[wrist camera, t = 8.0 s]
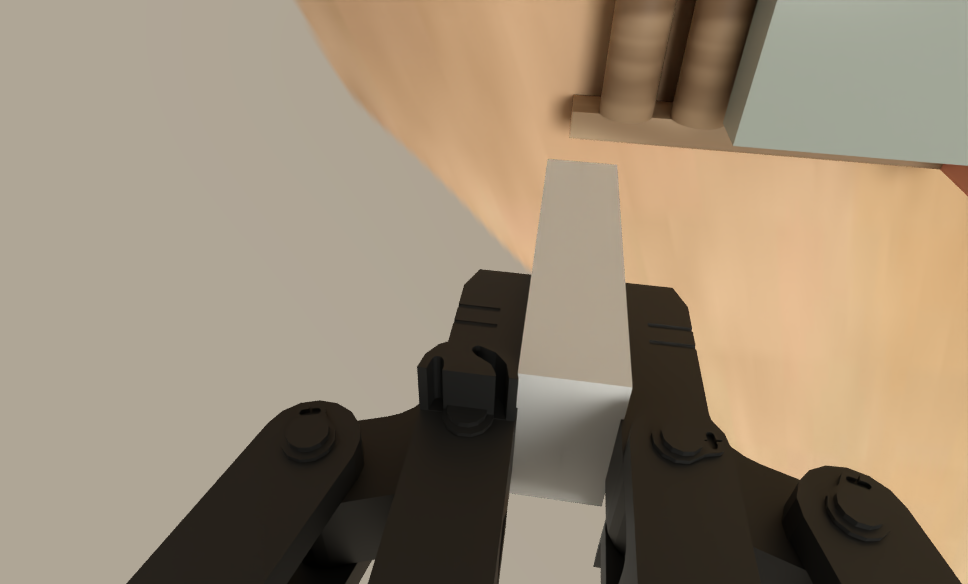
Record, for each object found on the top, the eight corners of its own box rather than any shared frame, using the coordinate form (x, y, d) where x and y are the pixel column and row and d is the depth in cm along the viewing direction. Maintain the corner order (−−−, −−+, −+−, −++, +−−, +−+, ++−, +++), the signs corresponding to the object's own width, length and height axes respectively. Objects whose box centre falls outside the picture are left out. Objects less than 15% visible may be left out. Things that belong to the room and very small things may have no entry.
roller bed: (605, -169, 28) (606, -169, 25) (1110, -152, 26) (1178, -150, 23) (570, 120, 37) (568, 145, 34) (947, 150, 35) (981, 181, 32)
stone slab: (786, -100, 26) (805, -93, 23) (1087, -86, 25) (1138, -77, 22) (722, 122, 32) (732, 146, 30) (961, 142, 31) (991, 167, 28)
